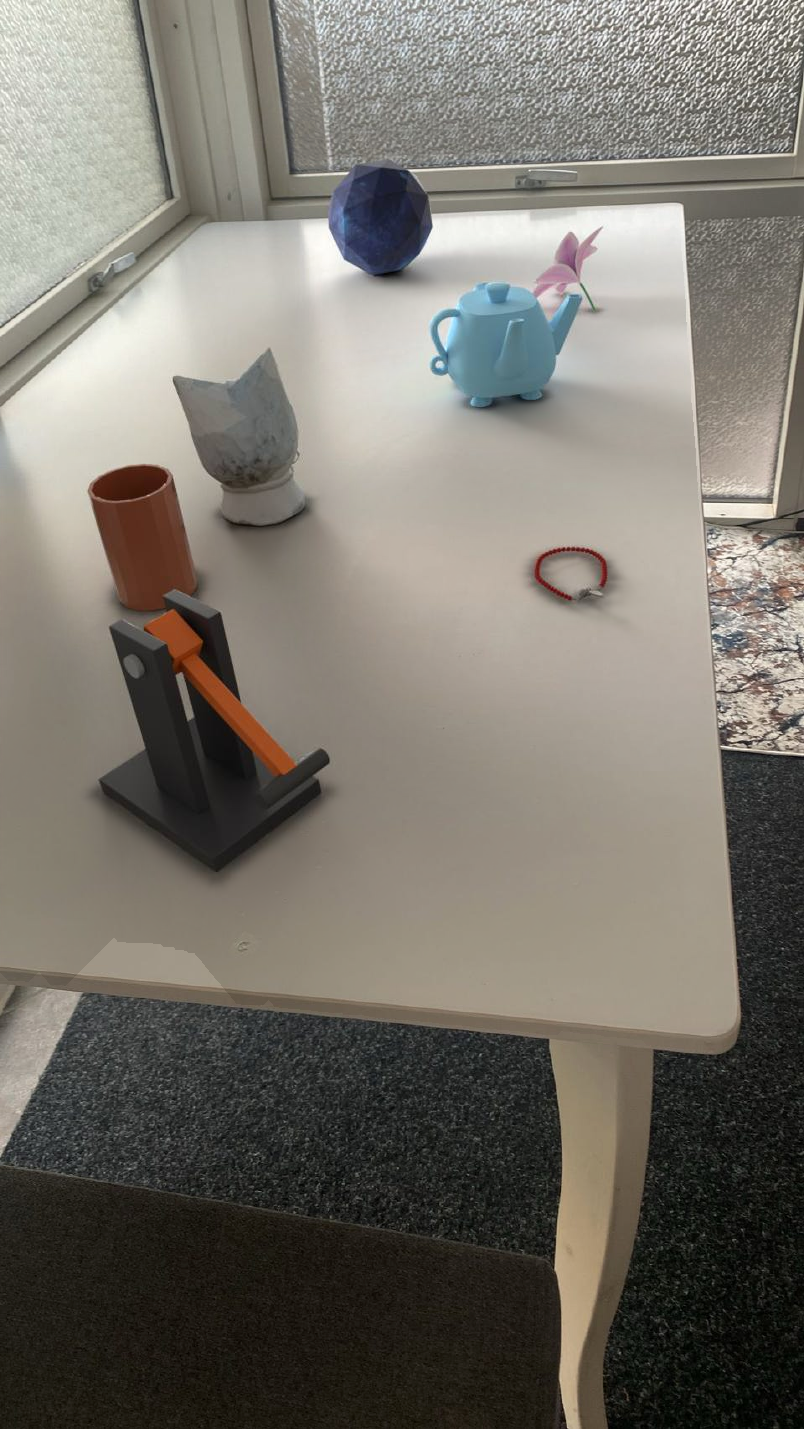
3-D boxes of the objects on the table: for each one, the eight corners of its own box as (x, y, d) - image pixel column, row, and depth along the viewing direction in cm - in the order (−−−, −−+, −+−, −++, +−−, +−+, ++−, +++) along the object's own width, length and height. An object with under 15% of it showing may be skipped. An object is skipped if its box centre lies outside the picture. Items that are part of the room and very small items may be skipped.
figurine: (313, 480, 109) (290, 328, 100) (304, 526, 102) (278, 366, 92) (214, 487, 110) (182, 336, 100) (198, 533, 102) (162, 375, 93)
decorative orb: (457, 238, 150) (428, 129, 150) (350, 258, 147) (320, 147, 147) (433, 281, 164) (406, 181, 164) (335, 300, 161) (308, 199, 161)
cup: (150, 619, 92) (120, 510, 85) (103, 594, 95) (71, 488, 89) (213, 583, 95) (188, 476, 89) (165, 561, 99) (138, 457, 93)
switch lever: (325, 771, 67) (335, 753, 65) (263, 817, 64) (271, 800, 62) (186, 619, 69) (191, 597, 67) (120, 657, 66) (124, 636, 64)
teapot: (596, 380, 122) (598, 274, 115) (522, 426, 114) (519, 315, 107) (485, 356, 130) (481, 256, 123) (409, 398, 123) (400, 293, 116)
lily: (611, 294, 146) (579, 225, 143) (646, 282, 135) (612, 206, 132) (533, 341, 146) (499, 272, 143) (562, 332, 134) (526, 257, 132)
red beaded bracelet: (620, 602, 87) (621, 591, 86) (544, 610, 87) (543, 600, 86) (599, 547, 94) (599, 537, 93) (527, 555, 94) (527, 544, 93)
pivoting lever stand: (321, 792, 73) (289, 616, 64) (216, 872, 68) (166, 693, 60) (205, 724, 80) (162, 556, 71) (102, 792, 75) (43, 621, 66)
